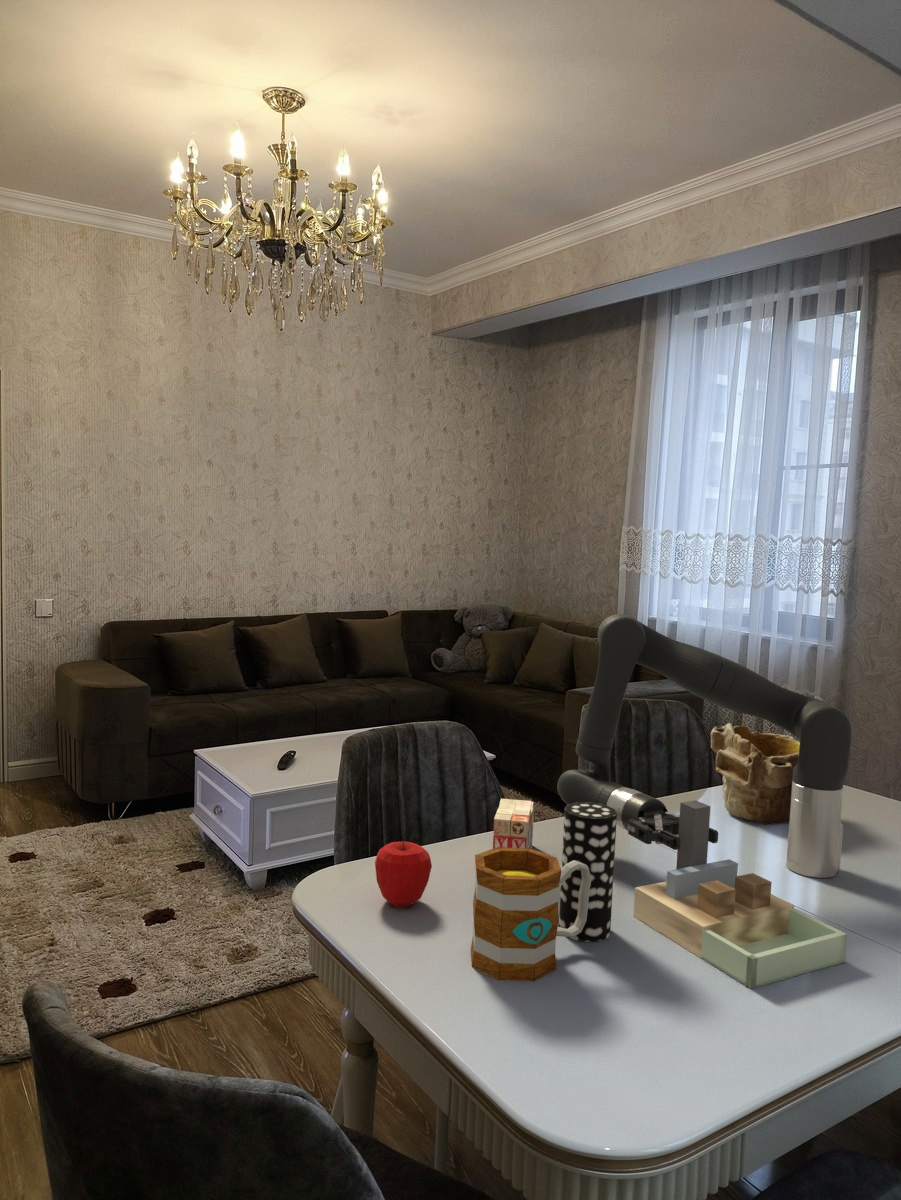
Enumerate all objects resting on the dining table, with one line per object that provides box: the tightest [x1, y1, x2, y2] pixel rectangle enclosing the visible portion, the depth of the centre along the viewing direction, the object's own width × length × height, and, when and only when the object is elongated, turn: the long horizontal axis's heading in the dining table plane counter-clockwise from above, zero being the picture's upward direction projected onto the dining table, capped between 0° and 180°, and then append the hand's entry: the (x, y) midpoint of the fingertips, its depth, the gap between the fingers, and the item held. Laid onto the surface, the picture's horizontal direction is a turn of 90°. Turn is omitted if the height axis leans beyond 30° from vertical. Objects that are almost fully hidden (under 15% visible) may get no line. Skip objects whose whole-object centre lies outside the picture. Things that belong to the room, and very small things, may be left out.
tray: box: [700, 907, 848, 990], centre depth 137 cm, size 20×10×4 cm, turn 118°
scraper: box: [666, 800, 739, 899], centre depth 151 cm, size 14×6×14 cm, turn 118°
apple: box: [374, 841, 433, 909], centre depth 152 cm, size 10×10×11 cm
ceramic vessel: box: [710, 722, 800, 826], centre depth 206 cm, size 23×24×25 cm
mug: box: [470, 847, 591, 982], centre depth 134 cm, size 20×14×15 cm
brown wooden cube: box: [697, 880, 736, 918], centre depth 142 cm, size 4×4×4 cm
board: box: [633, 880, 795, 959], centre depth 148 cm, size 20×16×5 cm
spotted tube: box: [558, 802, 617, 943], centre depth 144 cm, size 8×8×20 cm
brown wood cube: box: [734, 872, 772, 910], centre depth 146 cm, size 4×4×4 cm
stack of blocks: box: [492, 798, 534, 849], centre depth 172 cm, size 21×6×12 cm, turn 171°
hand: (697, 840), depth 151 cm, fingers open, 8 cm apart
